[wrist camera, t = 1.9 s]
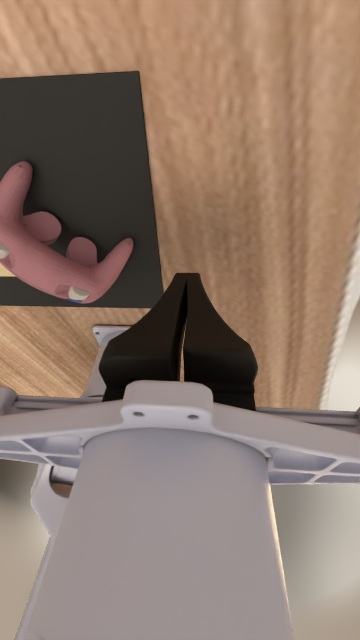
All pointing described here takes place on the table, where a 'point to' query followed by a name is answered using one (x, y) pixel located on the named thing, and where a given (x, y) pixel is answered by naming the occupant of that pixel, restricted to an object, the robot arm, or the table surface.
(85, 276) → the pink curved piece
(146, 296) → the desk mat
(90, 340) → the table surface
